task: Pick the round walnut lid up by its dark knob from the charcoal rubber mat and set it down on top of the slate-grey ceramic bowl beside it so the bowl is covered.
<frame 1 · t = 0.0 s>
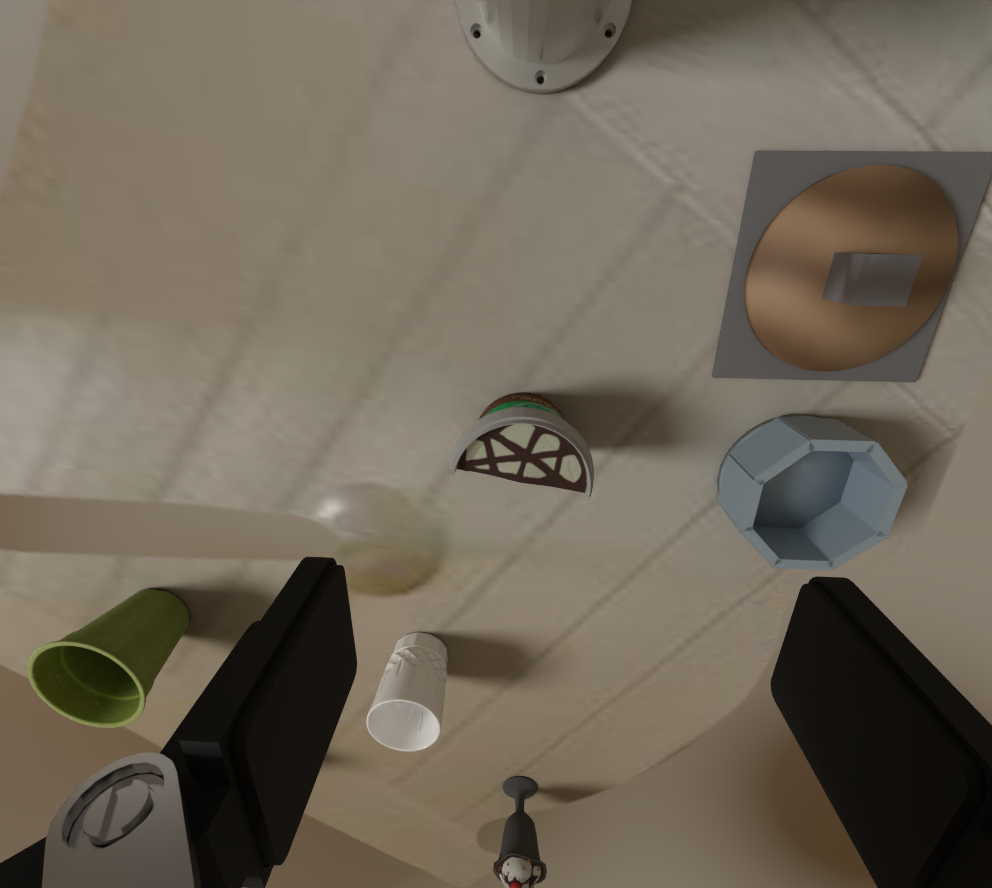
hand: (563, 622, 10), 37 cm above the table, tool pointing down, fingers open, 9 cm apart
food container: (527, 411, 47), on the table
sundae: (519, 785, 69), on the table
white cup: (421, 650, 60), on the table
plant pot: (162, 608, 59), on the table
bowl: (784, 475, 48), on the table
mat: (839, 275, 41), on the table
lid: (842, 275, 40), resting on mat
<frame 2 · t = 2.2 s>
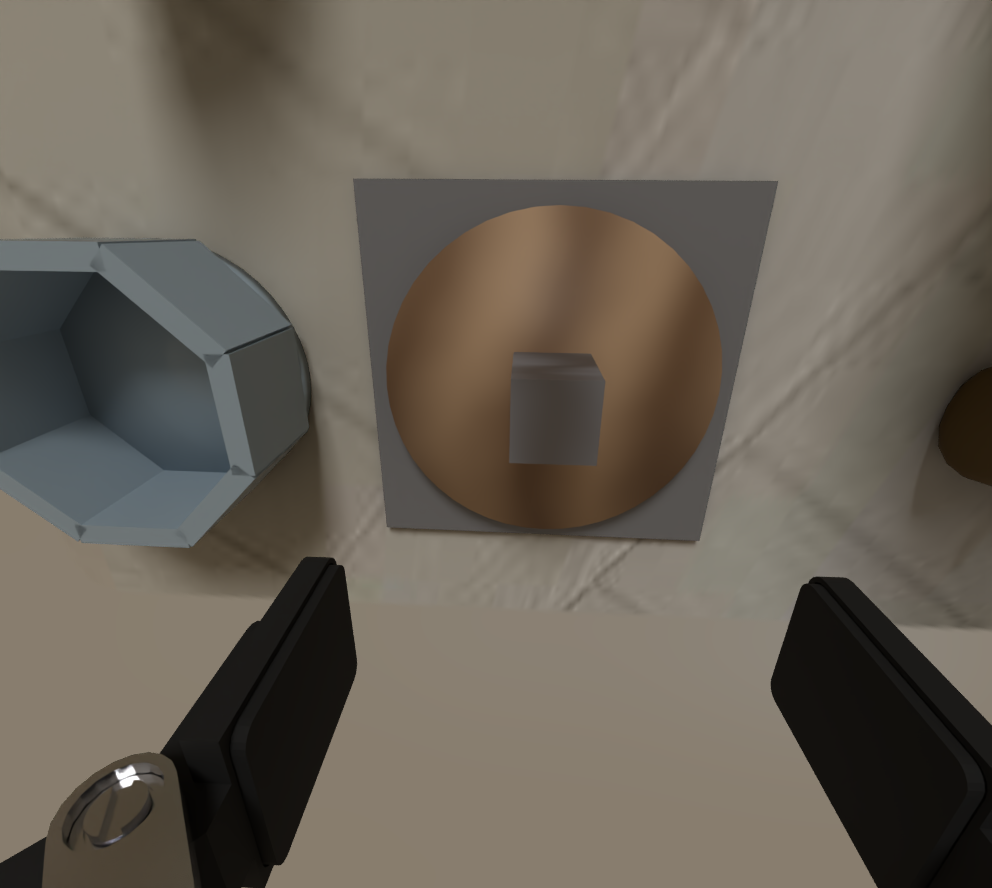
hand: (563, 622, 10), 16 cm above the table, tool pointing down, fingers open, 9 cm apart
bowl: (190, 371, 26), on the table
mat: (548, 380, 25), on the table
lid: (549, 383, 24), resting on mat
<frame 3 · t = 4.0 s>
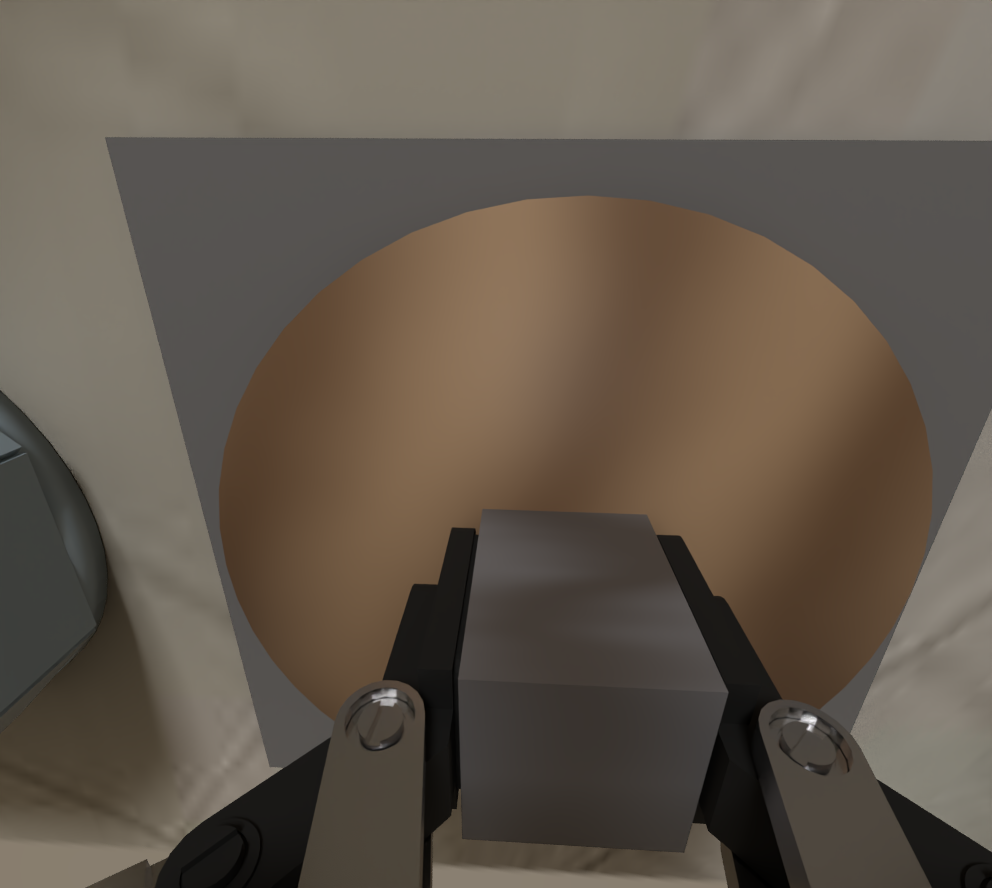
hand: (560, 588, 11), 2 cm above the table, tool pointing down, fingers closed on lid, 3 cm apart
mat: (554, 541, 13), on the table
lid: (556, 552, 12), point 1 cm above the table, touching gripper, mat
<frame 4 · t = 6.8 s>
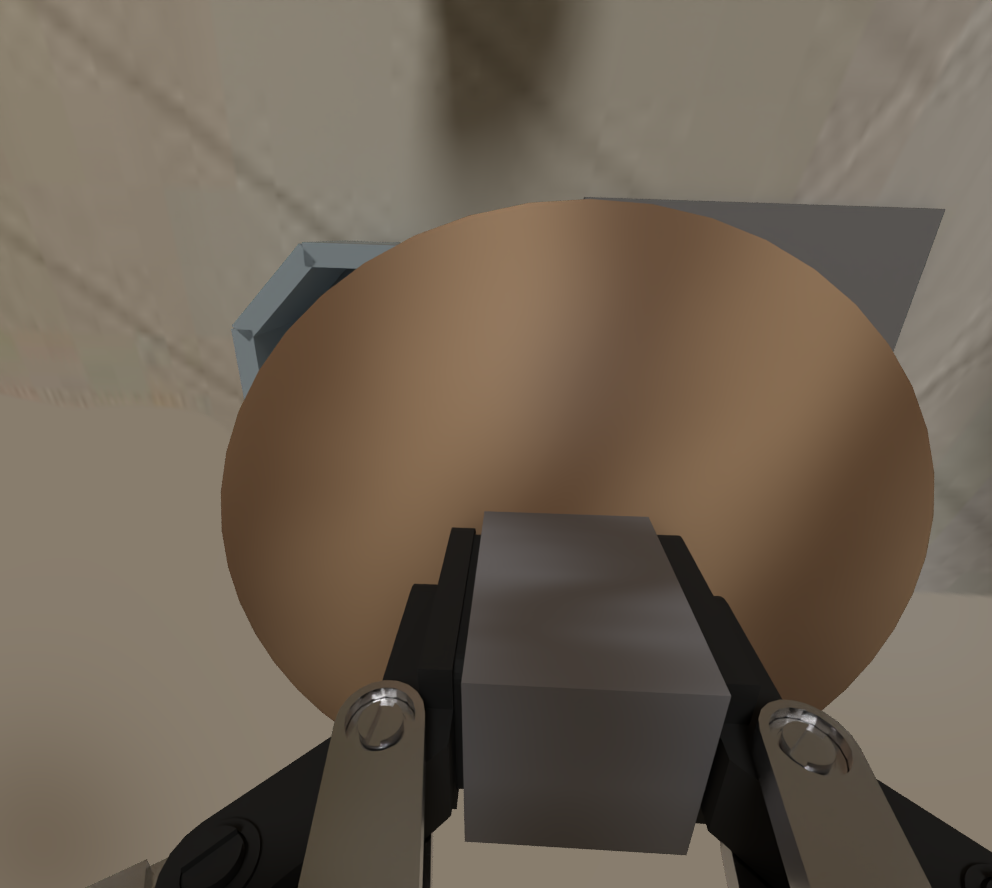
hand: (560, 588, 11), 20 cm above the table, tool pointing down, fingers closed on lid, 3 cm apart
bowl: (403, 357, 29), on the table
mat: (720, 372, 29), on the table
lid: (557, 554, 12), point 18 cm above the table, touching gripper
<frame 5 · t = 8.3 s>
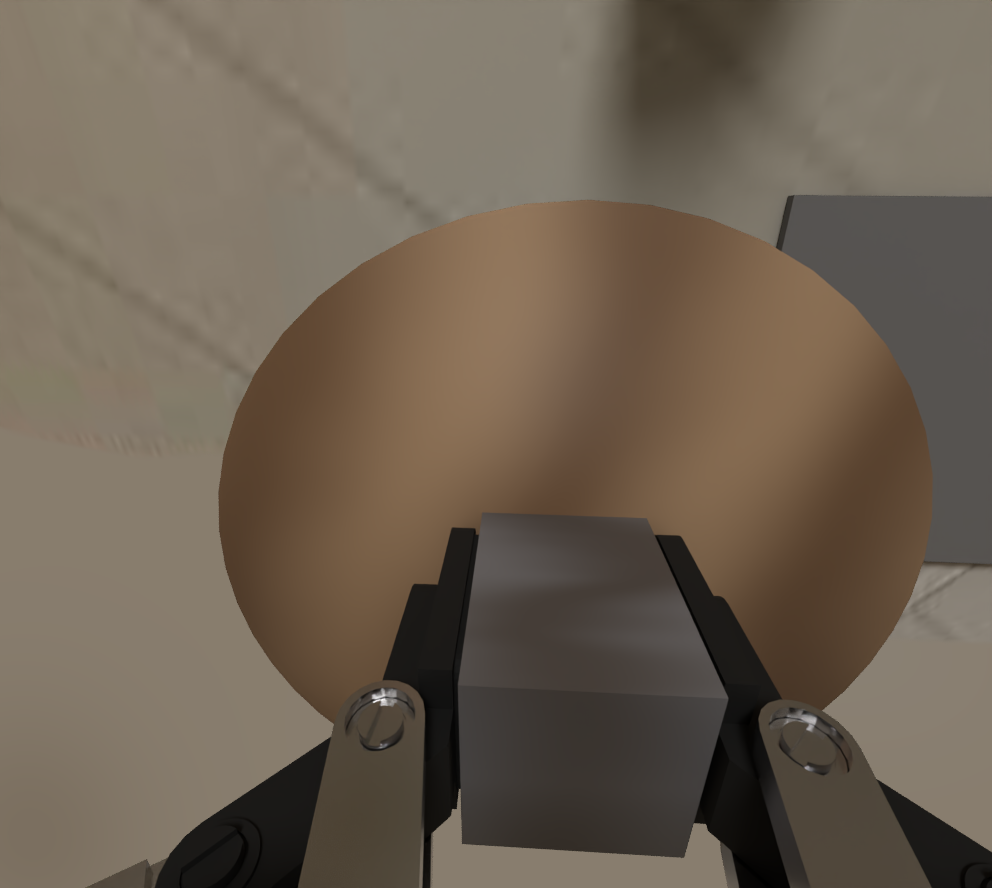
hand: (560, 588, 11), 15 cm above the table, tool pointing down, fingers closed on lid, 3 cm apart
mat: (929, 402, 24), on the table
lid: (556, 555, 12), point 14 cm above the table, touching gripper
when the fingers open (9 cm above the table, at t = 9.5 s): lid drops 1 cm, resting on bowl.
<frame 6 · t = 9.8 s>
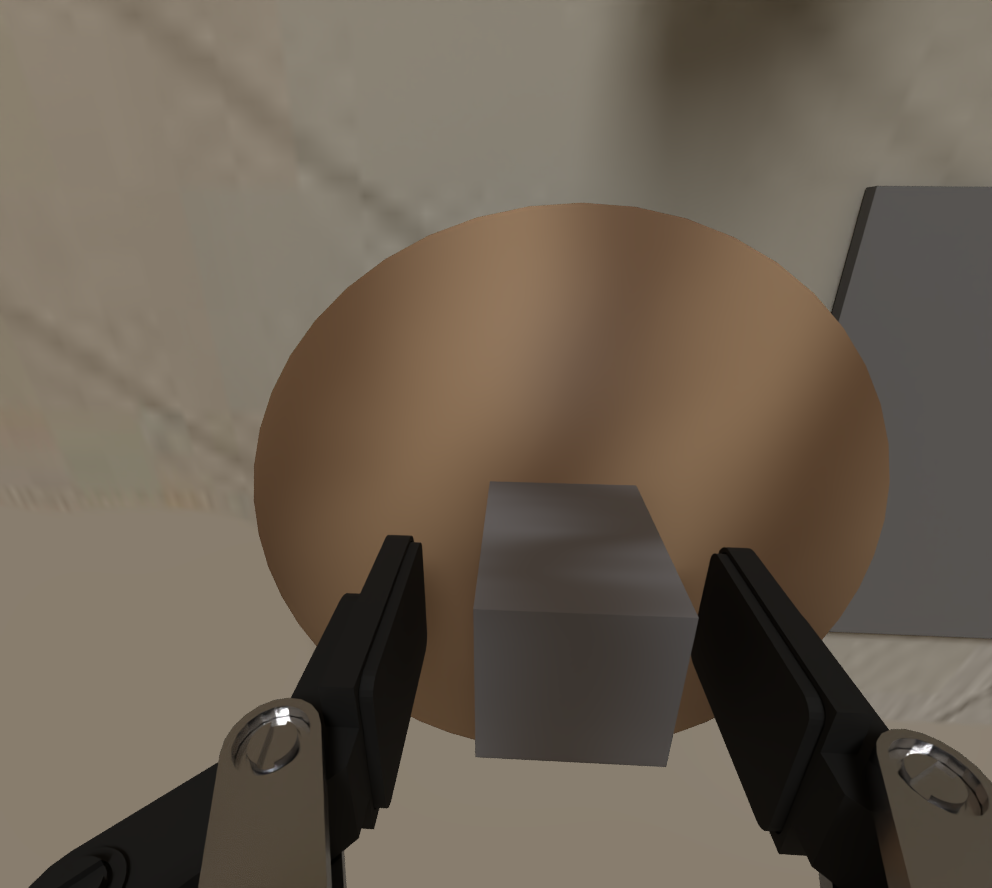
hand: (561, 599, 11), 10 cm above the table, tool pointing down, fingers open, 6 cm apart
lid: (555, 523, 13), point 6 cm above the table, touching bowl
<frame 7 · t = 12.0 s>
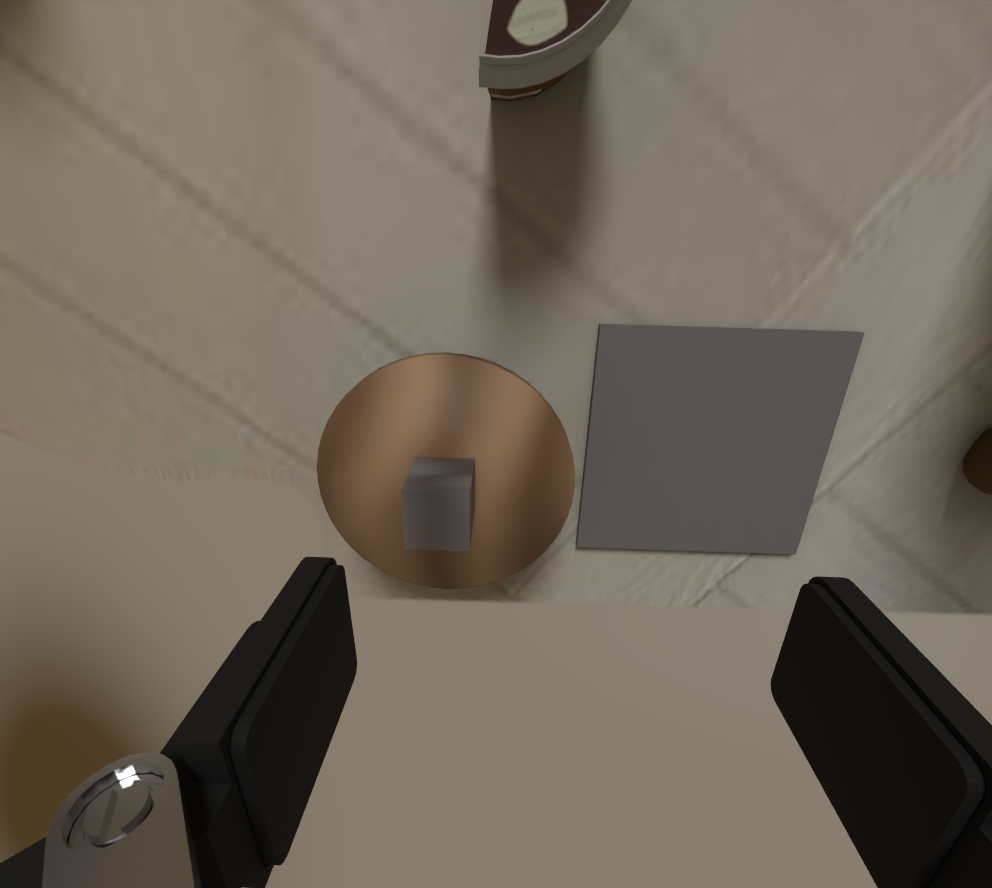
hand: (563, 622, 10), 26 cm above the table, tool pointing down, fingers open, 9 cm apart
food container: (559, 15, 27), on the table
mat: (704, 447, 37), on the table
lid: (447, 477, 31), point 6 cm above the table, touching bowl
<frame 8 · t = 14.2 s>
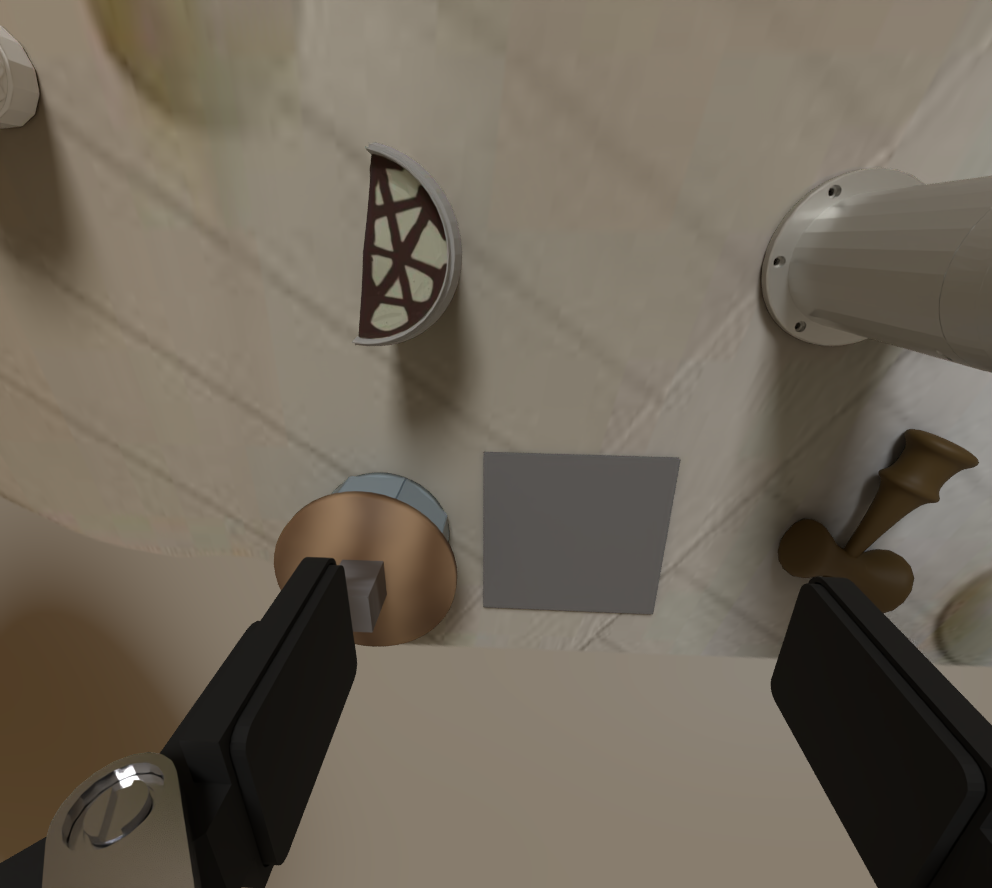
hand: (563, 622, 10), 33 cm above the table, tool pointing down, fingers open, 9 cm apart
kendama: (846, 516, 46), on the table
food container: (435, 256, 39), on the table
bowl: (385, 529, 49), on the table
mat: (573, 536, 48), on the table
lid: (368, 570, 43), point 6 cm above the table, touching bowl
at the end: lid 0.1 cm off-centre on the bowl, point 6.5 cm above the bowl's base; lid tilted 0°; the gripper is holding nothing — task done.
